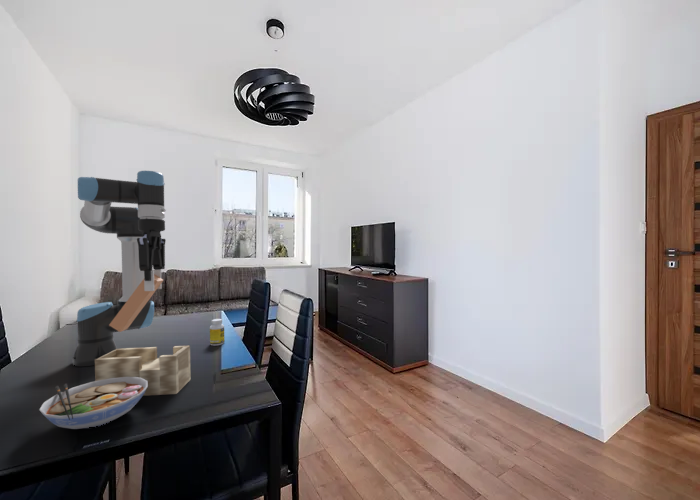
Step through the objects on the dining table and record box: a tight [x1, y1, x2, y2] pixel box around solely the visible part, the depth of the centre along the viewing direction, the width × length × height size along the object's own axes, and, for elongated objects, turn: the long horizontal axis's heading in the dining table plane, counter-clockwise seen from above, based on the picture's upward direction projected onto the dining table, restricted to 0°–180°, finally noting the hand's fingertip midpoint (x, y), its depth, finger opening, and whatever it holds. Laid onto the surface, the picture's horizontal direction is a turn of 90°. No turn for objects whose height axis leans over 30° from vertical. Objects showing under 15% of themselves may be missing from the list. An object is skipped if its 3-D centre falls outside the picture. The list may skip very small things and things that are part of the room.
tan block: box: [109, 274, 164, 333], centre depth 105 cm, size 20×4×4 cm
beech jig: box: [94, 345, 192, 397], centre depth 105 cm, size 24×11×12 cm, turn 95°
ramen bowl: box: [38, 377, 148, 430], centre depth 86 cm, size 25×23×8 cm
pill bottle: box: [209, 318, 226, 346], centre depth 154 cm, size 6×6×12 cm
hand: (153, 289), depth 105 cm, fingers closed on tan block, 4 cm apart
